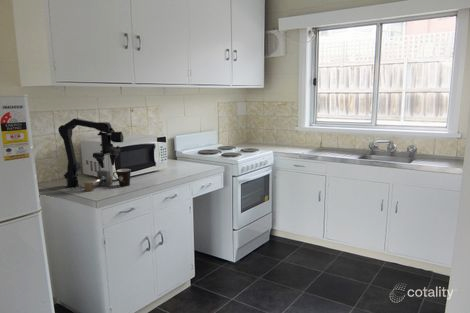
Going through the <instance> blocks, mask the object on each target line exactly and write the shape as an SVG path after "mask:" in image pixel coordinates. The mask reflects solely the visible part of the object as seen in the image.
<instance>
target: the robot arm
mask: <svg viewBox="0 0 470 313" xmlns="http://www.w3.org/2000/svg"><path fill="white" fill-rule="evenodd" d="M77 126H79V127H86V128H90V129H95V130H97V131H99V132H98V133H97V136H100V141H101V143H99V146H101V150H100V151H99V152H98V151H96V152H93V153H92V158H94V159H95V160H96V161H97V163H98V164H99V166H100V168H101V169H103V168H104V159H105V156H107V155H109V158H110V163H111V166H114V165H115V161H116V159H117V157H118V156H119V155H120V154H121V146H120V145H117V146H114V144H113V143H124V135H123V132H122V131H115V130H114V129H113V127H112V124H110V122H107V121H91V120H85V119H80V118H77V117H76V118H75V117H74V118H72V119H71V120H70V121H68V122H67V123H65V124H61V125H60V126H59V127H58V133H59V136H60V137H61V139H62V141H63V144H64V145H63V146H64V150H65V153H66V157H67V165H66V168H67V169H66V170H67V171H66V172H65V174H63V177H64V179H66V180H65V181H66V185H65V186H64V188H70V187H73V188H76V187H79V185H80V184H79V179H78V176H79V175H80V174H79V173H81V171H82V166H81V162H80V161H79V162H78V160H77V158H76V154H75V149H74V144H73V140H72V137H73V130H74V129H76V127H77Z"/></svg>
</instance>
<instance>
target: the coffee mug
mask: <svg viewBox="0 0 470 313" xmlns="http://www.w3.org/2000/svg"><path fill="white" fill-rule="evenodd" d="M115 173H116V175H117V176H115ZM131 173H132V172H131V168H130V169H129V168H120V169H117V170H116V171H114V172H113V173H112V177H114V178H115V179H116V180H117V181H118V184H119V187H122V188H123V187H125V186H126V187H129V186H130V185H131V175H132V174H131Z"/></svg>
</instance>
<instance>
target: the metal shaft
mask: <svg viewBox="0 0 470 313" xmlns="http://www.w3.org/2000/svg"><path fill="white" fill-rule="evenodd" d="M110 177H111V185H113V175H112V176H111V175H110ZM101 182H105V183H106V179H105V176H103V178H101V179H98V178H97V179H94V180H91V181H84V183H83V185H84V187H83V188H84V191H85V190H86V191H85V192H93V191H94V186H95V185H98V183H101Z"/></svg>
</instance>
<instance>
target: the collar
mask: <svg viewBox="0 0 470 313" xmlns="http://www.w3.org/2000/svg"><path fill="white" fill-rule="evenodd" d="M96 174H97V179H101V178H104V176H105V179H106V183H105V182H101V183H98V184H97V185H98V186H103V187H109V186H112V184H111V177H110V176H111V171H110V170H103V169H100V170H97V171H96Z"/></svg>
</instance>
